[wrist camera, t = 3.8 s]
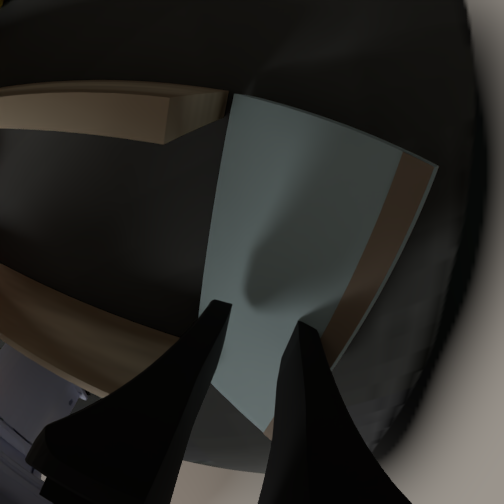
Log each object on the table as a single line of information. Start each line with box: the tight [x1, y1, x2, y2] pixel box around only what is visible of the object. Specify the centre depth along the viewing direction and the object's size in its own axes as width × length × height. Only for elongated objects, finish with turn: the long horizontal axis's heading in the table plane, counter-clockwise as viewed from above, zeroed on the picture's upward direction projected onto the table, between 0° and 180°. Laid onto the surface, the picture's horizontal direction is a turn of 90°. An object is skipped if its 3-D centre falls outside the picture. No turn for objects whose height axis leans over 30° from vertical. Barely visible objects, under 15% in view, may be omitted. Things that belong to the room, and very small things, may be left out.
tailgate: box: [198, 94, 439, 441], centre depth 11 cm, size 14×1×6 cm
